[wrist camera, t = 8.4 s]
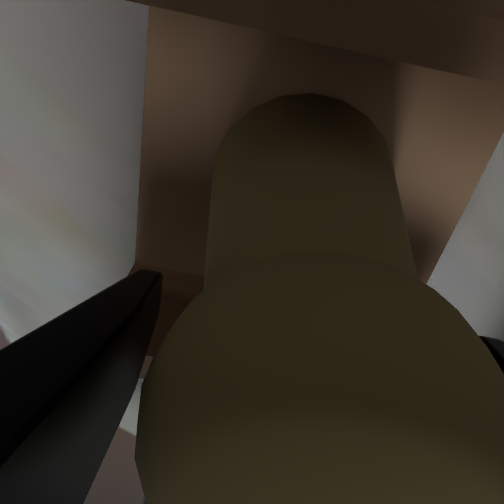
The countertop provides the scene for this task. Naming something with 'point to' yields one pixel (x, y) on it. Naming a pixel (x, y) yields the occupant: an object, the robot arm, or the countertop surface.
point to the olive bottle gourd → (317, 338)
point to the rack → (323, 83)
